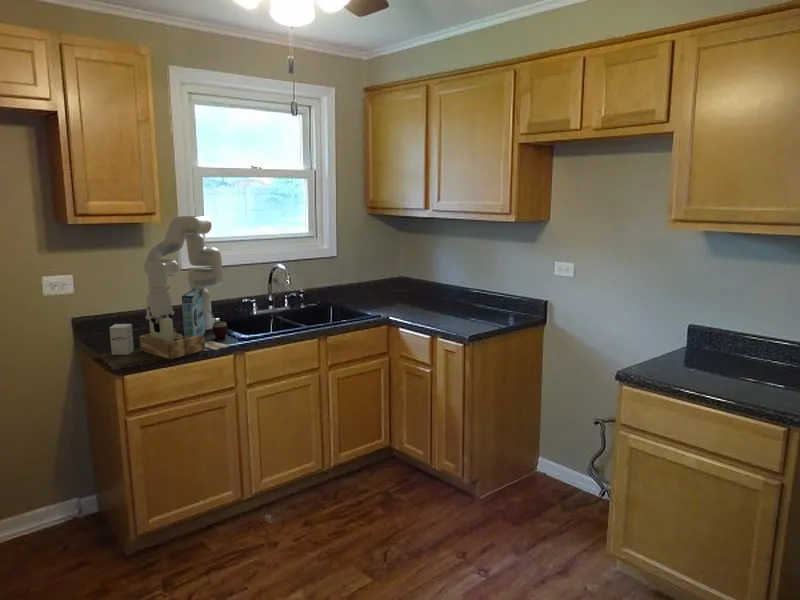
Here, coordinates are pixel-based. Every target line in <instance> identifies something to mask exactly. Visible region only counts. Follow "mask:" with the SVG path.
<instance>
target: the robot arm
mask: <svg viewBox="0 0 800 600" xmlns="http://www.w3.org/2000/svg"><path fill="white" fill-rule="evenodd" d="M211 230H212V221H211V218H210V217H208V216H207V215H181V216H176V217H174V218H172V219H171V221H170V222H169V225H168V227H167V231H166V233H165V236H164V239H163V240H162V241H160V242H159V243H157V244H156V245H154V247H153V248H151V249H150V250H149V251H148V253H147V256H146V258H145V261H144V264H143V265H144V266H143V268H144V269H143V270H144V272H145V274H146V275H147V280H148V294H147V296H146V315H145V319H146V320H150V321H151V322H152V323H153V324H154V331H155V332H160V326H159V323H158V316H161V317H166V318H170V319H172V316H173V315H174V314H176V313H175V310H174V309H173V305H172V298H171V294H170V292H169V289H170V286H169V285H168V279H167V277H174V276H175V275H177V274H178V272H179V269H180V267H179V266H180V265H179V264H178V262H177V261H176V260H174V259H162V258H164V257H165V256H167V255H171V254H173V253H176V252H178V251H180V250H181V249H182V248H183V246H184V243H185V241H186V248H187V258H188V262H189V264H190V265H191V266H194V267H196V268H191V269H190V270H189V271H188V272H187V281H188V285H189V289H190V290H189V291H191V290H192V289H202V291H203V308H204V325H205V331H209V330H212V328H213V324H214V323H215V320H216V322H221V321H220V320H221V319H220V318H219V317H217V318H215V320H214V318H213V316H212V315H211V313H210V312H209V311H211V312H212V301H211V298H212V297H211V293H210V290H209V289H208V288H207V287H215V288H216V287H220V286H221V285H222V284H223V283H224V270H223V261H222V255H221V252H220V250H219V249H218V248H216V247H206V244H205V238H204V236H203V235H206V234H208V233H210V232H211ZM207 310H209V311H207ZM151 317H152V318H151Z"/></svg>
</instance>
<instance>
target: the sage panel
mask: <svg viewBox="0 0 800 600" xmlns="http://www.w3.org/2000/svg"><path fill="white" fill-rule="evenodd" d="M151 318H152V316H151ZM158 323H159V326H160V332H155V331H154V324H153V323H152V322H151V321H150V320H149V332H150V333H149V334H150V335H151V338H154V339H158V340H162V341H166V342H174V333H173V328H174V322H173V318H166V317H163V316H158Z"/></svg>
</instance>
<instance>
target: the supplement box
mask: <svg viewBox="0 0 800 600" xmlns="http://www.w3.org/2000/svg"><path fill="white" fill-rule="evenodd" d="M133 335H134V334H133V324H132V323H115V324H113V325H111V326H110V327H109V339H110V348H111V355H112V356H113V355H118V356H119V355H120V356H121V355H122V356H124V355H126V356H127V355H128V354H129V355H130V354H131V353H132V352H134V338H133V337H134V336H133ZM129 355H128V356H129Z"/></svg>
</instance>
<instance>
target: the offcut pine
mask: <svg viewBox="0 0 800 600" xmlns="http://www.w3.org/2000/svg"><path fill="white" fill-rule="evenodd" d="M182 336H183V334H182V333H177V332H176V333H174V337H178V338H182Z"/></svg>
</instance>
